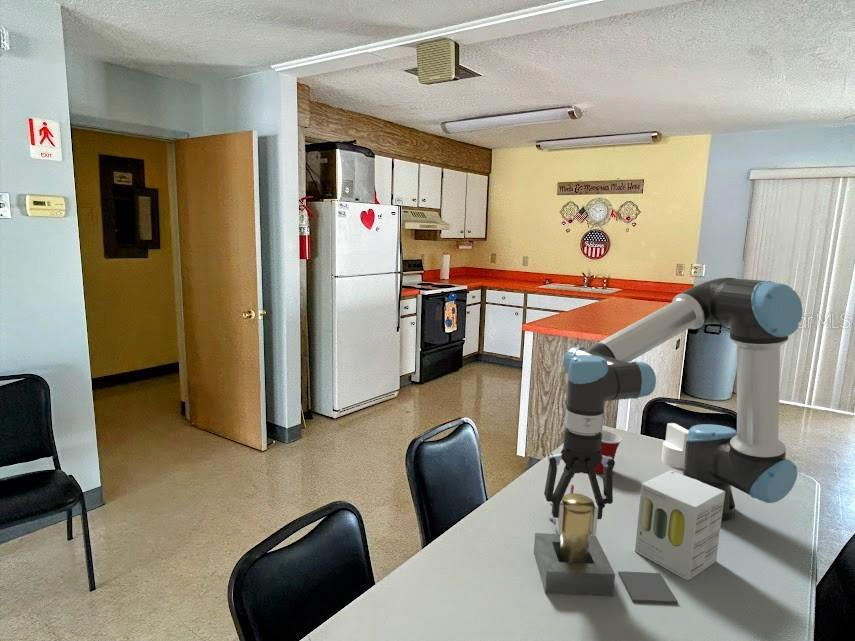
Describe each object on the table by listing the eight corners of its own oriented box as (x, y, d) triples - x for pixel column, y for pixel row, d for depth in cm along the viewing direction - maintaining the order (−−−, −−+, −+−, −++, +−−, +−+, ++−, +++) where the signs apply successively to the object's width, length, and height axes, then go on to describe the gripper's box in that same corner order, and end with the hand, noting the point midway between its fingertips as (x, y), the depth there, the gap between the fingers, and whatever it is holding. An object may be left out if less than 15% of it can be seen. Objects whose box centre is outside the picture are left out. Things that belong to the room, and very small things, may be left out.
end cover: (584, 548, 118) (589, 493, 115) (592, 566, 111) (597, 509, 109) (555, 546, 118) (558, 492, 116) (561, 565, 111) (565, 508, 109)
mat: (659, 575, 116) (659, 573, 116) (677, 604, 107) (677, 601, 107) (618, 573, 116) (618, 571, 116) (632, 602, 107) (633, 599, 107)
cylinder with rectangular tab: (655, 457, 178) (658, 424, 176) (678, 455, 180) (681, 422, 178) (673, 469, 169) (677, 434, 167) (697, 467, 171) (701, 432, 169)
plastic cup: (624, 478, 162) (627, 441, 160) (588, 477, 162) (592, 440, 160) (612, 463, 173) (615, 428, 171) (579, 462, 173) (582, 427, 171)
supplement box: (632, 551, 124) (639, 482, 122) (663, 534, 132) (670, 468, 129) (687, 582, 114) (696, 507, 111) (717, 561, 121) (726, 490, 119)
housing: (594, 555, 122) (595, 535, 122) (613, 596, 109) (615, 574, 108) (533, 552, 123) (535, 532, 122) (544, 593, 109) (546, 571, 108)
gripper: (539, 434, 106) (532, 539, 110) (637, 438, 106) (627, 543, 109) (533, 421, 114) (527, 520, 117) (624, 424, 113) (615, 523, 117)
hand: (575, 531), depth 113 cm, fingers closed on end cover, 7 cm apart
